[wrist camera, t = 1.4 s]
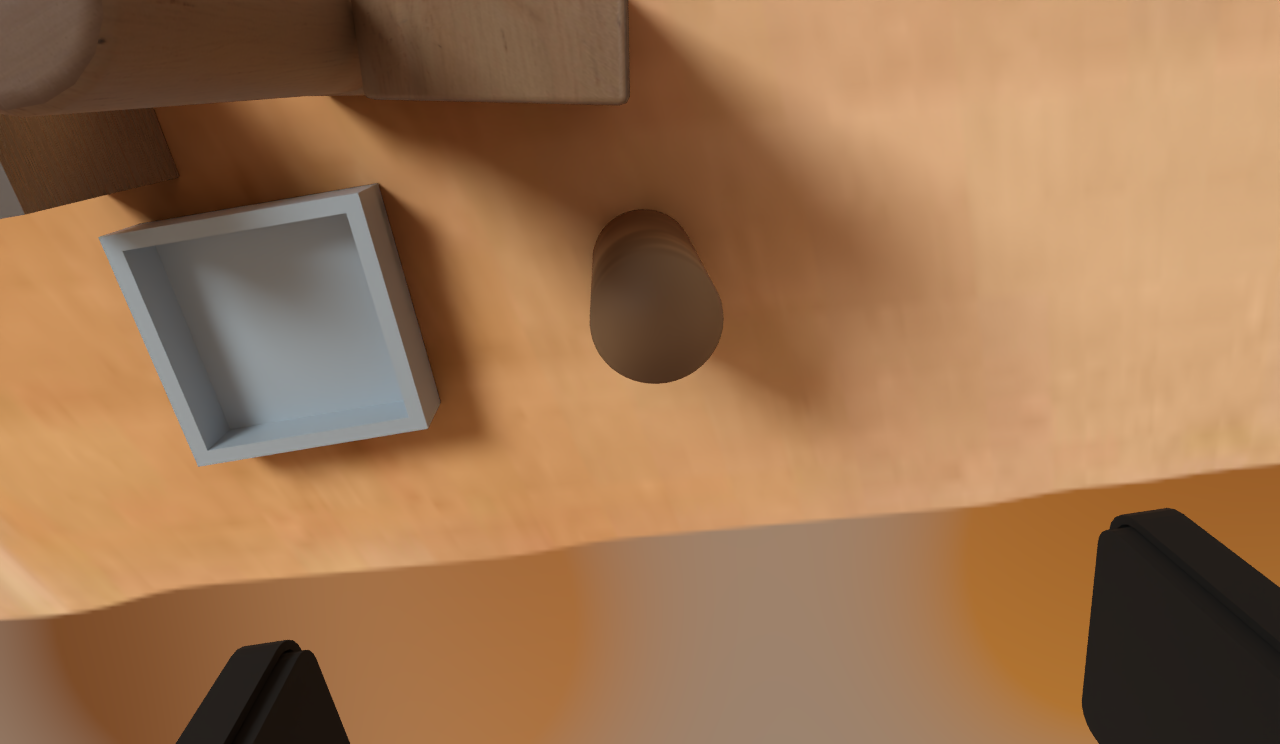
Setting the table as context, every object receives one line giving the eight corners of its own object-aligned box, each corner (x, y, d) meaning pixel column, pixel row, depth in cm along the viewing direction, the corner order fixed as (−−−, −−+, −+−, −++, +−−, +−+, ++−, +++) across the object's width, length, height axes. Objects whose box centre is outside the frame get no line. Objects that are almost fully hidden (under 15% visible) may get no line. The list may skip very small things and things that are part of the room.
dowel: (685, 201, 29) (714, 245, 22) (699, 299, 30) (730, 372, 23) (584, 218, 29) (578, 268, 22) (602, 315, 30) (602, 393, 23)
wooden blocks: (617, 90, 27) (642, 116, 11) (319, 94, 27) (-143, 128, 10) (615, -23, 26) (639, -196, 9) (301, -21, 26) (-267, -199, 9)
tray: (377, 183, 28) (357, 192, 26) (440, 402, 32) (427, 428, 29) (139, 223, 28) (98, 237, 26) (227, 437, 32) (198, 466, 29)
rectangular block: (111, -1, 25) (-91, -32, 18) (179, 177, 28) (24, 214, 20) (25, 14, 25) (-211, -11, 18) (100, 190, 28) (-83, 232, 20)
